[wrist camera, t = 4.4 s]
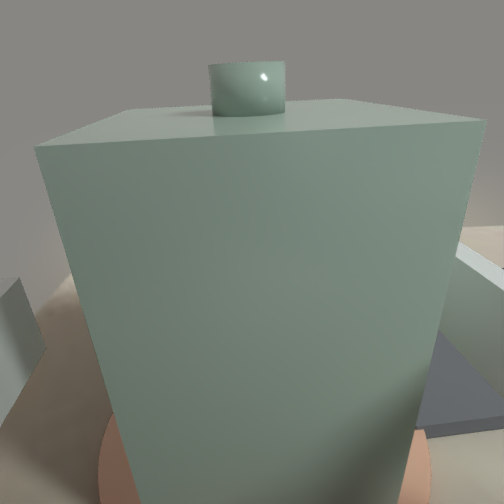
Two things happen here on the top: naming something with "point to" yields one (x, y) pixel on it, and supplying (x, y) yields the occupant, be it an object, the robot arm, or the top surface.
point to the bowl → (127, 500)
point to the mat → (457, 396)
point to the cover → (264, 284)
